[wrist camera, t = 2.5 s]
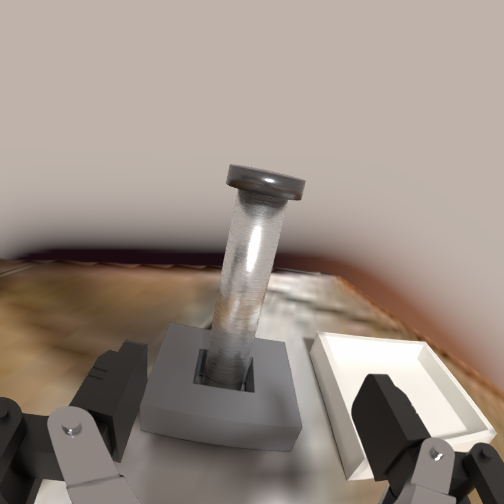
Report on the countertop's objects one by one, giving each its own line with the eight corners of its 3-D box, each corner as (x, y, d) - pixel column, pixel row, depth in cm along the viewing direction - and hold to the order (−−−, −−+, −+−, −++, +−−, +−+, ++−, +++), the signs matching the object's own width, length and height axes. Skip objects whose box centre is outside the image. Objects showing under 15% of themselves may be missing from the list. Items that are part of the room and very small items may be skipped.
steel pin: (187, 410, 22) (228, 165, 17) (194, 373, 27) (231, 163, 21) (248, 419, 22) (313, 184, 17) (247, 381, 27) (298, 177, 22)
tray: (347, 480, 17) (364, 458, 16) (309, 353, 33) (317, 331, 33) (479, 454, 19) (497, 433, 18) (415, 361, 35) (425, 342, 34)
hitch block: (140, 429, 19) (139, 403, 18) (167, 347, 29) (170, 322, 28) (290, 451, 20) (302, 427, 19) (277, 365, 30) (284, 342, 29)
